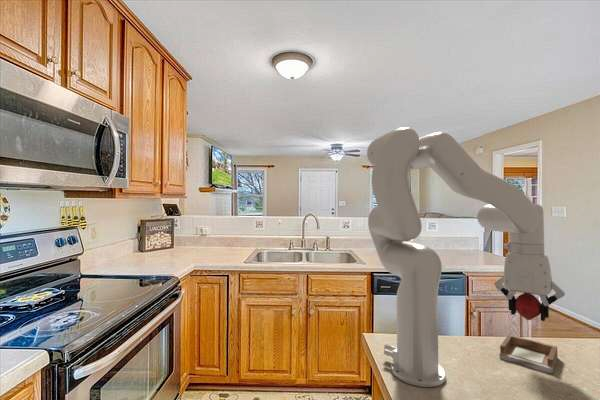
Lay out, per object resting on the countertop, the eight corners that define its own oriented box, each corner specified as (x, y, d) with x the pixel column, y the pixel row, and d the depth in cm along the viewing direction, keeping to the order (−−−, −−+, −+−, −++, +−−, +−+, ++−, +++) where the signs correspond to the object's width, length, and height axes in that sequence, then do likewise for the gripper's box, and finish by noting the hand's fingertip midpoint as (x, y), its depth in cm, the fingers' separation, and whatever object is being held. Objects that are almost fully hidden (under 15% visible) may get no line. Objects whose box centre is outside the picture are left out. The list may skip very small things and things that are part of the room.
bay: (499, 358, 82) (499, 346, 82) (508, 344, 89) (508, 334, 89) (552, 374, 74) (552, 361, 74) (557, 357, 82) (557, 346, 82)
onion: (540, 326, 78) (540, 294, 78) (513, 320, 82) (512, 290, 82) (542, 319, 82) (542, 289, 82) (516, 314, 86) (516, 286, 86)
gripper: (486, 248, 86) (487, 312, 85) (567, 254, 73) (569, 329, 73) (493, 245, 91) (494, 305, 91) (570, 251, 79) (572, 321, 78)
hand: (528, 315), depth 82 cm, fingers closed on onion, 5 cm apart
